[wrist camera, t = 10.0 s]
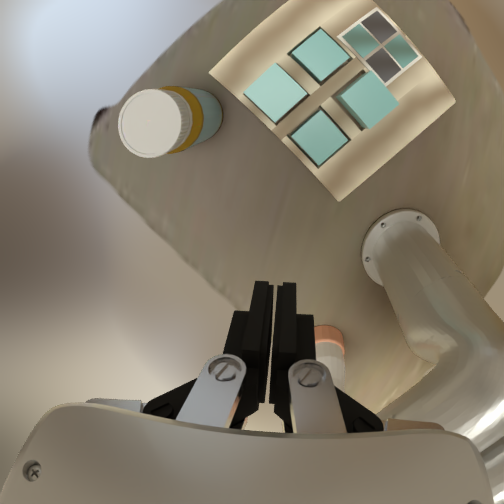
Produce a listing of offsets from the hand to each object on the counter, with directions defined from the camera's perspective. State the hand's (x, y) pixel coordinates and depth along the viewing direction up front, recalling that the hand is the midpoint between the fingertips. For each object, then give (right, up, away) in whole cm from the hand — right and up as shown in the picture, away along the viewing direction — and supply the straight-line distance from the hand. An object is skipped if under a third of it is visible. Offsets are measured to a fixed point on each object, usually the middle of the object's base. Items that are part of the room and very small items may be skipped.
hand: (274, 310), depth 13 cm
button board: (+10, +24, +20) cm, 32 cm away
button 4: (+2, +20, +18) cm, 27 cm away
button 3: (+7, +26, +18) cm, 32 cm away
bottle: (-8, +20, +24) cm, 32 cm away
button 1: (+12, +20, +17) cm, 29 cm away
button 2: (+7, +17, +23) cm, 29 cm away
